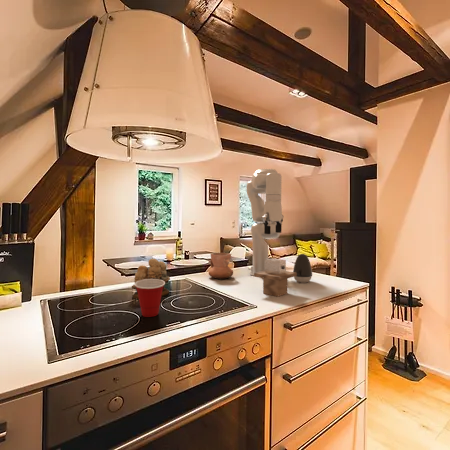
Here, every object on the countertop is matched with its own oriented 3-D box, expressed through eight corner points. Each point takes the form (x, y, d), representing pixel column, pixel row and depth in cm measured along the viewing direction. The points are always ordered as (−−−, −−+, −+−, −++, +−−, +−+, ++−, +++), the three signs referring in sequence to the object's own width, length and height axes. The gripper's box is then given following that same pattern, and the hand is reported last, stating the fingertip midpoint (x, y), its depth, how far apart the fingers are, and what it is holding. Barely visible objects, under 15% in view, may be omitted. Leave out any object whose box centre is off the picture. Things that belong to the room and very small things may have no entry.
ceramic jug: (239, 278, 164) (239, 253, 164) (219, 281, 155) (218, 255, 155) (221, 274, 178) (221, 251, 178) (201, 276, 170) (201, 253, 170)
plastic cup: (137, 322, 96) (137, 286, 96) (132, 312, 106) (131, 280, 106) (169, 316, 101) (168, 283, 101) (161, 308, 111) (160, 277, 111)
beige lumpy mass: (163, 289, 140) (163, 255, 139) (176, 294, 131) (176, 257, 130) (127, 296, 128) (127, 258, 128) (138, 302, 119) (138, 261, 119)
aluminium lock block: (265, 272, 133) (265, 259, 132) (271, 270, 136) (271, 258, 136) (281, 274, 127) (281, 261, 126) (286, 273, 130) (286, 260, 130)
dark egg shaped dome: (310, 279, 160) (310, 252, 159) (314, 284, 149) (314, 255, 149) (291, 279, 161) (291, 252, 160) (294, 283, 150) (294, 255, 150)
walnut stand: (254, 293, 131) (254, 273, 131) (271, 287, 142) (271, 268, 141) (280, 299, 122) (280, 277, 122) (296, 292, 132) (296, 272, 132)
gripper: (276, 198, 148) (276, 231, 150) (256, 198, 136) (256, 234, 137) (289, 198, 143) (288, 232, 145) (269, 198, 131) (269, 235, 132)
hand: (273, 233), depth 141 cm, fingers open, 9 cm apart
